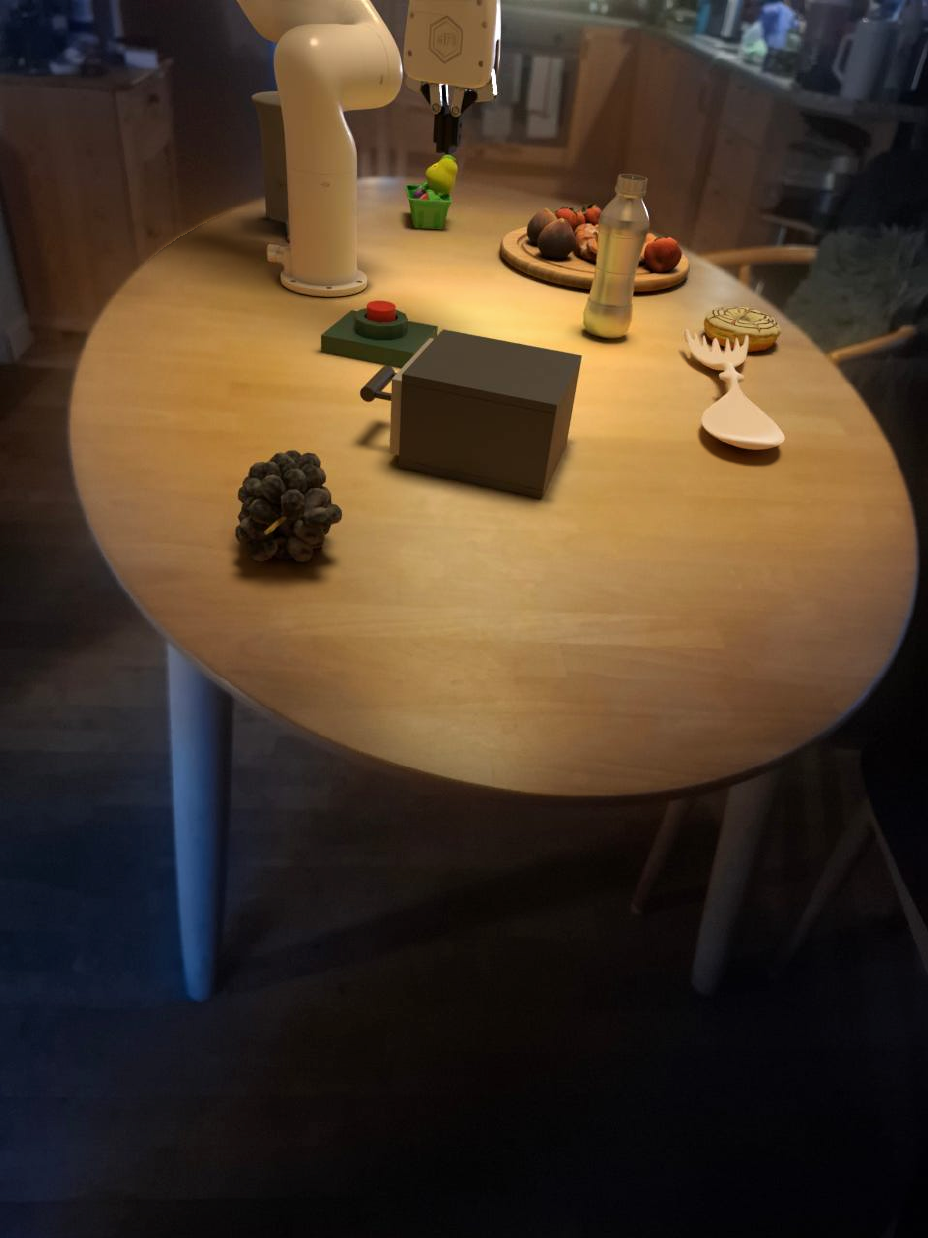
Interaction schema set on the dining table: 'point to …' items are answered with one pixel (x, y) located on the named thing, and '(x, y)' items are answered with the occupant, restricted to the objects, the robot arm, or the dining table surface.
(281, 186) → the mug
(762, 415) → the cream spork
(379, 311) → the button
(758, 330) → the decorated donut
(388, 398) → the drawer
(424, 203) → the fruit basket
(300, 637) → the dining table surface
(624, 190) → the plastic bottle
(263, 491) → the fruit
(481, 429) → the cabinet
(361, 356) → the control block
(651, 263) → the wooden plate
